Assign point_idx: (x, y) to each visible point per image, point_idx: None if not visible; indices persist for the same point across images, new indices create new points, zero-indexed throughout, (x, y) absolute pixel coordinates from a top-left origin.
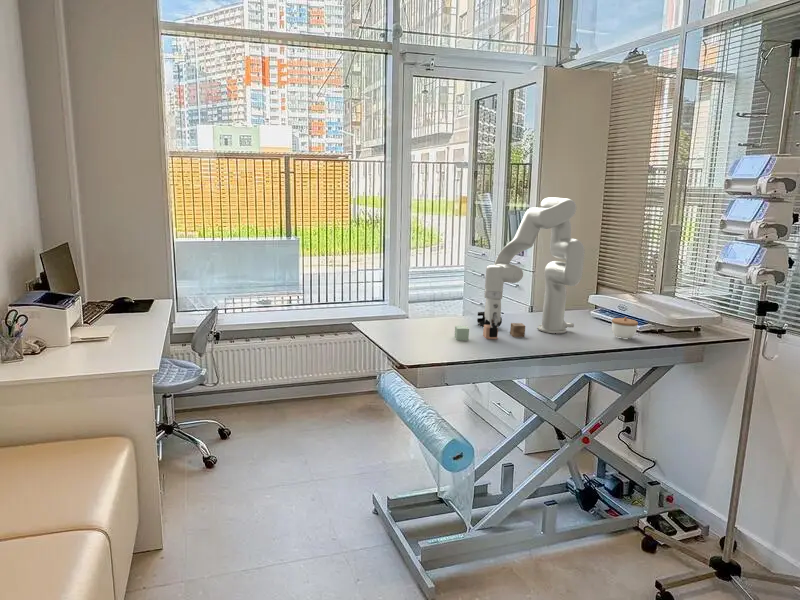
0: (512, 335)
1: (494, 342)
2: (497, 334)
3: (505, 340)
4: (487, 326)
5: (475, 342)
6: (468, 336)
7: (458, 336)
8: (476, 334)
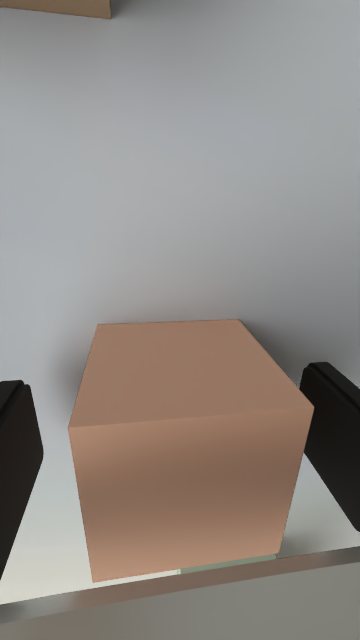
0: (58, 5)
1: (356, 370)
2: (258, 345)
3: (305, 234)
4: (215, 543)
5: (327, 500)
6: None
7: None
8: (70, 484)
